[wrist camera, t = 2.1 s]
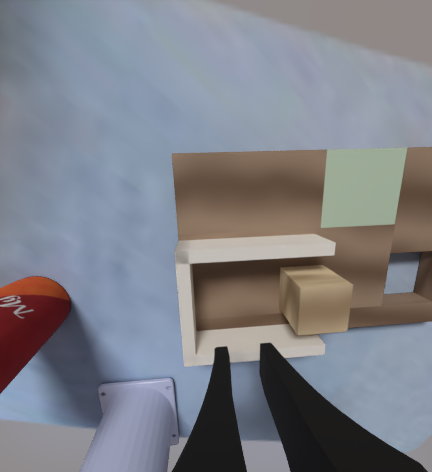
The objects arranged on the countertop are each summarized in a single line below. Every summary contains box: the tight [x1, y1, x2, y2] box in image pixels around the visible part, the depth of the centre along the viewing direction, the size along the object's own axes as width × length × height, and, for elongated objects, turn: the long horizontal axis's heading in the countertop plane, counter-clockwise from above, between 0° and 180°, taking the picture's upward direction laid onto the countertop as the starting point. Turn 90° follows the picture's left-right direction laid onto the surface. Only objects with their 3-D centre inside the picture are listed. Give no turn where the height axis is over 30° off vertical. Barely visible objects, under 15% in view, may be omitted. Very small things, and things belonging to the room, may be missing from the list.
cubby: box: [175, 234, 336, 367], centre depth 18 cm, size 10×12×3 cm
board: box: [172, 147, 432, 331], centre depth 20 cm, size 17×26×2 cm, turn 92°
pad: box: [321, 148, 407, 228], centre depth 19 cm, size 6×7×2 cm
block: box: [279, 265, 353, 335], centre depth 18 cm, size 4×4×4 cm
